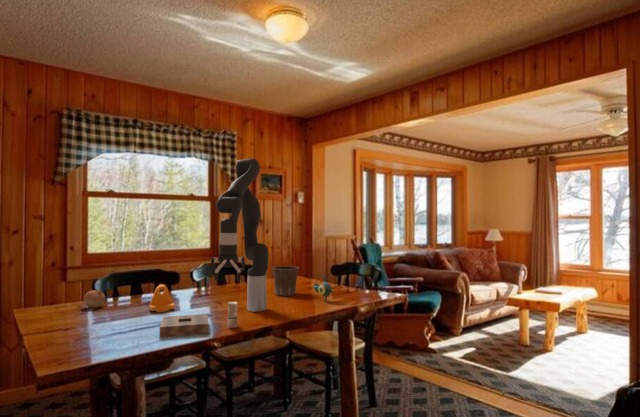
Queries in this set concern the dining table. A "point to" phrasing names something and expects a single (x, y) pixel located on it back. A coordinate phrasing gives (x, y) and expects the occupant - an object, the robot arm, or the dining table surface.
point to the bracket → (161, 300)
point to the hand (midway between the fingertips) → (227, 281)
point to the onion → (94, 299)
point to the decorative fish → (323, 288)
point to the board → (184, 325)
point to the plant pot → (285, 280)
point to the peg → (232, 314)
